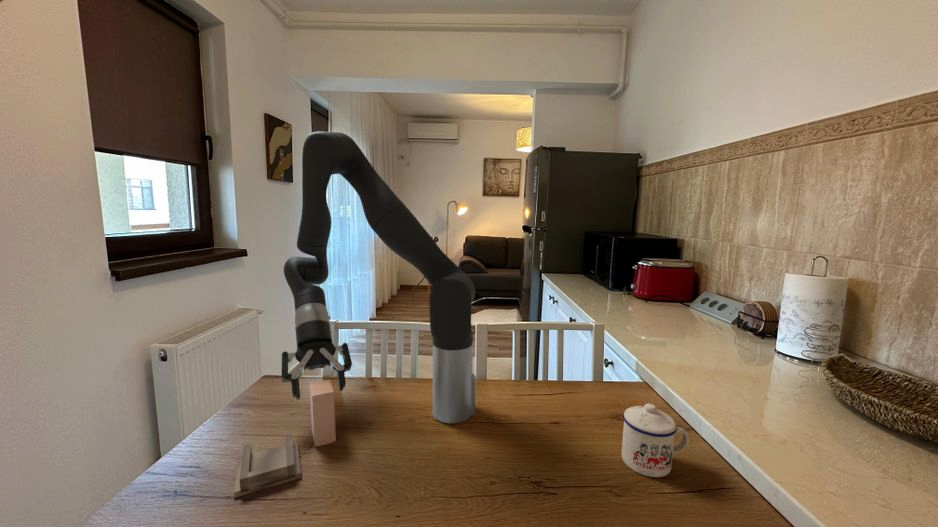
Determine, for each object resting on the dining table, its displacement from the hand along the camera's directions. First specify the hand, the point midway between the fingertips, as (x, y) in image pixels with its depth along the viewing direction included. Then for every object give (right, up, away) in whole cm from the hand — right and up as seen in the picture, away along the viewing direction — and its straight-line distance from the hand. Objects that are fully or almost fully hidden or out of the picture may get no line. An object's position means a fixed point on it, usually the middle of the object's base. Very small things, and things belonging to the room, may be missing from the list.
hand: (320, 394), depth 78 cm
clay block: (+1, -9, -1) cm, 9 cm away
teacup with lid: (+67, -11, -8) cm, 68 cm away
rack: (-5, -10, -11) cm, 16 cm away
